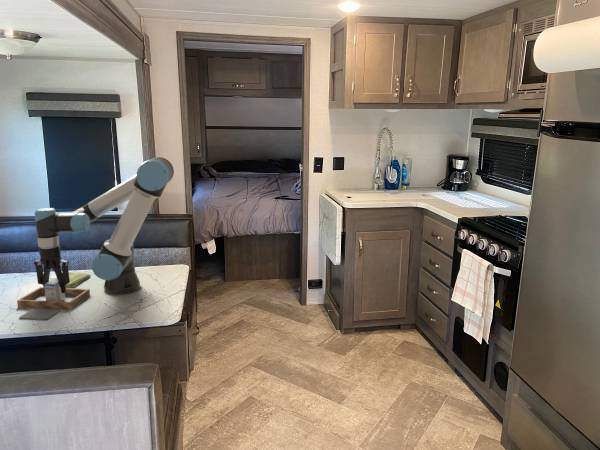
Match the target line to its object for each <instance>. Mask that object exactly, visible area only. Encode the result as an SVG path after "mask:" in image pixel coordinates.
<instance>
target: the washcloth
mask: <svg viewBox="0 0 600 450" xmlns="http://www.w3.org/2000/svg"><path fill="white" fill-rule="evenodd" d="M91 276H92V275H91V274H88V273H84V272H83V273H82V272H78V271H77V272H70V271H69V279H70V283H68V284H66V285H65V286H66V288H74V289H75V288H77V286H79V285H81V283H83V282H84V281H86V280H87V279H89V278H90V277H91Z"/></svg>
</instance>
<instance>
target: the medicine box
mask: <svg viewBox="0 0 600 450" xmlns="http://www.w3.org/2000/svg"><path fill="white" fill-rule="evenodd" d="M58 286H59V282H58V279H57V277H52V278H51V279H49V281H48V282H47V283H46V284H45V285H44V289H45V301H60V298H59V291H58Z"/></svg>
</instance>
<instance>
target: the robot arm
mask: <svg viewBox="0 0 600 450" xmlns="http://www.w3.org/2000/svg"><path fill="white" fill-rule="evenodd" d="M174 169H175V168H174V166H173V164H172V163H171V162H170V160H168V159H167V158H164V157H160V156H159V157H158V156H157V157H153V158H151V159H147V160H145V161H143V162H142V163H140V165H139V166H138V167H137V171H136V174H135V175H133V176H131V177H129V178H128V179H126V180H124V181H122V182H121V183H119V184H118V185H116V186H114V187H112V188H111V189H109V190H108V191H106V192H104V193H103V194H101V195H99V196H98V197H95V198H94V199H92V200H91V201H89V202H88V203H85V204H83V206H80V207H79V208H78V209H75V210H74V211H71V212H69V213H59V212H58V213H57V212H56V211H57V210H56V209H55V208H54V207H45V208H44V207H43V208H38V209H36V210H35V211H34V224H35V228H36V235H37V236H36V238H37V244H38V245H37V246H38V251H39V252H38V254H39V256H40V257H39V259H36V260H35V261H34V262H33V264H34V266H35V271H36V277H37V278H36V280H37V284H38V285H42V287H43V288H44V285H45V284H46V283H47V282H48V281H50V276H51V275H50V273H51V269H52V271H53V272H54V274H55V278H57V279H58V282H59V286H58V291H59V298H60V301H62V302H64V300H66V296H65V292H66V286H65V285H66V284H68V283H70V279H69V272H70V271H69V262H70V261H69V260H65V259H62V257H61V255H62V254H61V246H60V235H59V233H81V232H87V231H88V230H89V228H90V225H91V223H93V222H94V221H96V220H97V219H99V218H101V217H102V216H104V215H105V214H108V213H110V211H112V210H115V209H116V208H117V207H119V206H121V205H123V204H124V203H125V202H128V203H127V204H126V206H125V209H124V211H123V212H122V214H121V216H120V218H119V220H118V222H117V224H116V226H115V228H114V231H113V233H112V234H111V237H110V239H107V240H105V241H104V242H103V243H102V245H101V248H100V250H99V252H98V254H97V255H96V256H95V257H94V258H93V260H92V263H91V270H92V271H93V274H94V275H95V276H96V277H97V278H98V279H101V280H102V281H103V280H104V283H103V284H104V285H103V290H104V292H105V293H106V294H108V295H126V294H130V293H133V292H136V291H138V290H140V288H141V282H140V280H139V277H138V274H137V272H136V267H135V250H134V249H135V248H134V246H135V245H134V242H135V239H136V237H137V235H138V234H139V231H140V230H141V227H142V226H143V225H144V221H145V219H147V218H146V217H147V215H148V213H149V211H150V210H151V207H152V206H153V204H154V202H155V200H156V199H159V198H161V196H162V195H163V192H164V190H165V188H166V187H167V185H168V183H170V181H171V180H172V179H173V177H174V175H175V174H174V173H175V170H174ZM44 292H45V289H44Z"/></svg>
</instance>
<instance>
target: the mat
mask: <svg viewBox="0 0 600 450" xmlns="http://www.w3.org/2000/svg"><path fill="white" fill-rule="evenodd" d="M61 311H62V309H46V308H31V309H30V310H28V311H27V312H25V313H24V314H22V315H20V316H19V317H18V319H19V320H30V321H31V320H32V321H33V320H35V321H48V320H50V319H52V318H53V317H54V316H55V315H57V314H58V313H60V312H61Z"/></svg>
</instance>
